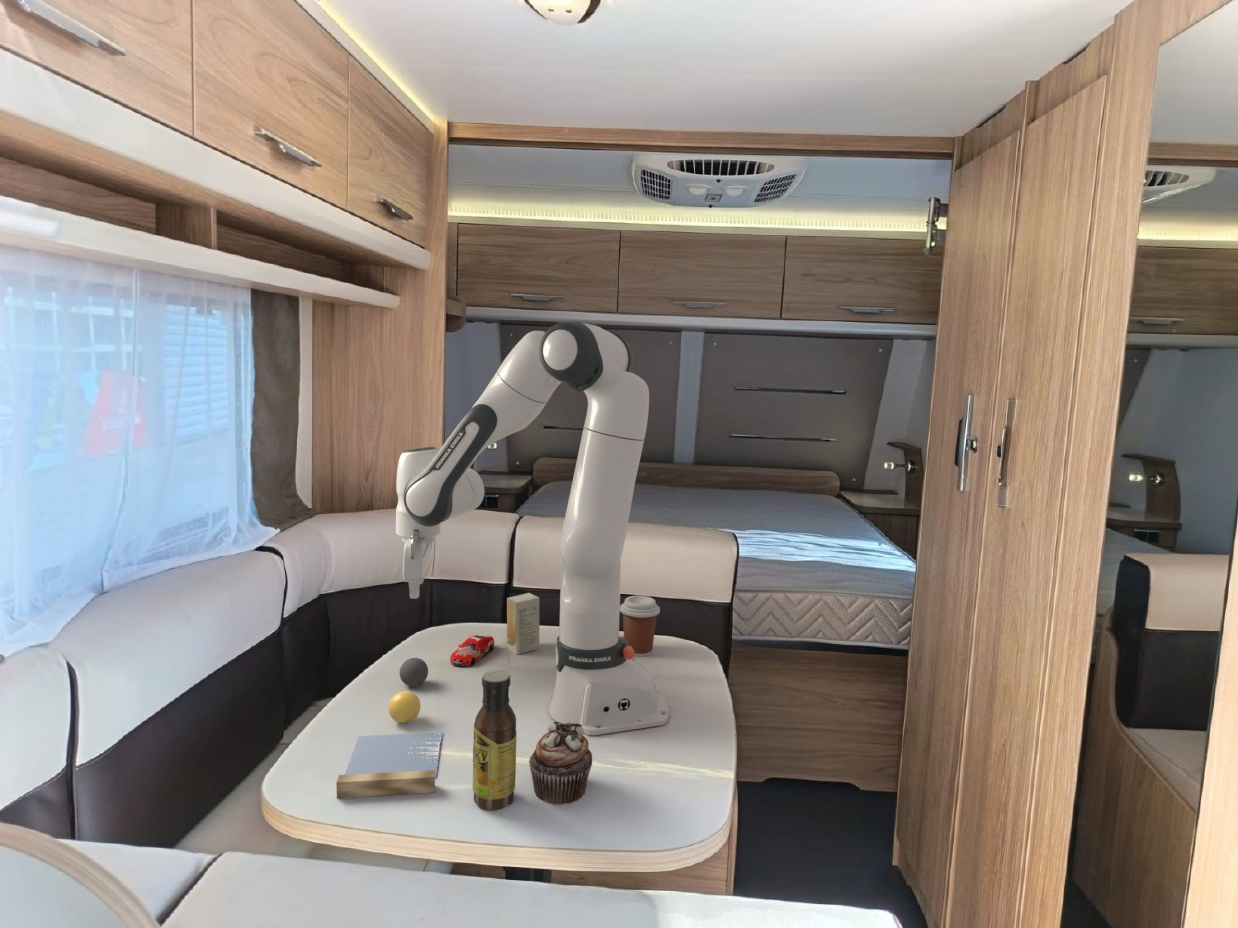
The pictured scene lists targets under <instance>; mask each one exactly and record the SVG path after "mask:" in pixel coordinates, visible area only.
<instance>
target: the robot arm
mask: <svg viewBox="0 0 1238 928" xmlns="http://www.w3.org/2000/svg"><path fill="white" fill-rule="evenodd" d="M634 360H635V357H634V354H633V351H632V348H631V346H630V345H629V344H628V342H627V341H626V340H625V339H624V338H623V337H621V336H620V335H619V334H617V333H615V332H611V331H608V330H606V329H604V328H603V327H601V326H597V325H594V324H590V323H583V322H580V321H576V320H575V321H574V320H570V321H569V320H568V321H561V322H558V323H556V324H553V325H551V326H550V327H549V328H548V329H547V330H546V331H543V330H532V331H529V332H528V333H526V334H525V335H524V336H523V337H522V338H521V339H520V340H519V341H518V342H517V343H516V345H514V347H513V348H512V349H511V350H510V352H509V353H508V354H507V355H506V357H505V358H504V359H503V361H502V362H501V364H500V366H499V368H498V369H497V371H496V372H495V374H494V375H493V377H492V378H491V379H490V382H489V383H488V385H487V386H486V387H485V389H484V391H483V392H482V394H481V395H480V397H479V398H478V399H477V400H476V402H475V403H474V404H473V406H472V407H471V408H470V409H469V411H468V412H467V413H466V414H465V416H464V417H463V418H462V419H461V420H460V422H459V423H458V424H457V426H456V427H455V428H454V430H453V431H452V432H451V433H450V435H449V436H448V438H447V439H446V440H445V442H444V443H443V444H442V446H441V447H440V448H438V447H436V446H423V447H417V448H410V449H406V450H405V451H403V452H402V453H401V454H400V456H399V459H398V464H397V471H396V486H395V487H396V490H395V491H396V493H397V499H398V500H397V506H396V508H395V534H396V535H397V536H399V537H401V542H402V543H404V549H403V562H402V563H403V564H402V579H403V582H405V583H408V589H409V598H410V599H416V600H417V599H418V598H420V585H423V583H424V582H425V572H426V568H427V566H428V563H429V559H430V557H431V554H432V553H431V552H432V546H433V542H434V540H435V539H434V538H435V537H437V536H438V535H440V534H441V523H444V522H445V521H447V520H450V519H453V518H456V517H460V516H462V515H464V514H468V513H470V512H472V511H474V510H476V509H478V508H479V507H480V506H481V505H482V503H483V501H484V499H485V493H486V488H485V483H484V480H483V478H482V476H481V475H480V473H478V472H477V471H476V470H475V469H474V468H471V467H472V465H473V464H474V462H475V461H476V460H477V459H478V457H479V455H480V454H481V453H482V452H483V451H484V450H486V449H488V447H489V446H491V445H492V444H494V443H496V442H498V441H499V440H501V439H503V438H506V437H507V436H508V437H509V436H510V435H512V434H515V433H518V432H519V431H522V430H524V429H526V428H527V427H528V426H529V425H530V424H532V422H533V421H534V420H535V419H536V418H537V417H538V416H539V415H540V413H541V412H542V411H543V409H544V407H545V406H546V405H547V403H548V402H549V400H550V398H551V397H552V395H553V394H554V392H555V390H556V389H557V388H558V386H559V385H560V384H564V385H566V387H568V388H569V389H571V390H573V391H574V392H577V393H579V392H584V394H585V396H586V398H587V399H586V400H587V410H586V415H585V420H584V425H583V429H582V434H581V439H580V445H579V448H578V452H577V453H578V454H577V459H576V462H575V467H574V472H573V473H574V474H573V478H572V482H571V488H570V492H569V496H568V500H567V501H568V502H567V507H566V511H565V516H564V521H563V526H562V529H561V530H562V531H561V533H560V534H561V536H560V541H559V550H560V555H561V558H562V559H561V577H560V594H559V596H560V597H559V603H560V604H559V627H558V628H559V629H558V631H559V633H558V634H559V635H558V636H557V638H556V645H555V666H556V677H555V682H554V683H555V684H554V687H553V688H554V689H553V693H552V696H551V700H550V702H549V703H550V704H549V706H548V714H549V715H550V717H551V718H552V719H553V720H554V721H557V722H560V723H561V724H566V723H576V724H580V725H582V728H583V729H584V733H583V734H586V735H588V736H598V735H605V734H611V733H612V734H613V733H619V732H625V731H631V730H637V729H644V728H652V727H660V726H663V725H666V724H667V723H668V721H669V719H670V709H669V708H670V707H669V706H668V702H667V701H666V699H665V698H664V697H663V695H662V694H661V693H660V692H659V691H658V690H657V686H656V683H655V679H654V677H653V676H652V675H651V673H650V672H649V670H647V669H646V668H645V667H644V666H643V665H641V664H640V663H638V662H637V661H636V660H634V658H635V657H636V656H634V655H635V652H634V650H633V648H632V647H631V646H629V643H628V641H626V640H625V638H624V635H621V636H620V613H621V612H620V605H621V560H622V559H621V558H622V555H623V552H624V546H625V541H626V536H627V532H628V531H627V530H628V525H629V520H630V513H631V509H632V502H633V496H634V490H635V485H636V484H635V483H636V479H637V474H638V471H639V465H640V461H641V456H642V453H643V452H642V451H643V446H644V443H645V438H646V432H647V427H648V419H649V411H650V410H649V408H650V389H649V386H648V384H647V383H646V381H645V380H644V379H643V378H641V377H640V376H639V375H637V374H635V373H633V372H632V371H633V368H634Z"/></svg>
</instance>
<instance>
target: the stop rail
mask: <svg viewBox="0 0 1238 928" xmlns="http://www.w3.org/2000/svg"><path fill="white" fill-rule="evenodd" d="M435 786H436V778H435V770H425V771H405V772H386V773H367V774H348V775H345V774H339V775H338V776H337V779H336V798H337V799H343V798H345V799H346V798H347V799H348V798H361V797H362V798H363V797H364V798H365V797H376V796H377V797H379V796H398V795H414V794H432V793H433V794H434V792H435Z"/></svg>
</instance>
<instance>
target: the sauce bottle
mask: <svg viewBox="0 0 1238 928" xmlns="http://www.w3.org/2000/svg"><path fill="white" fill-rule="evenodd" d="M481 678H482V679H481V686H482V689H483V690H482V701H481V702H482V706H481V708H480V709H479V711H478V713H477V714H476V717H475V719H474V723H473V747H472V790H473V801H474V803H475V804H476V805H477V806H478V807H479V808H481V809H482V810H488V811H500V810H503V809H505V808H507V807H509V806H510V805H512V803H513V801H514V799H515V798H514V797H515V789H516V774H517V773H516V769H517V768H516V767H517V766H516V765H517V718H516V717H517V716H516V714H515V711H514V710H513V708H512V706H511V705H510V697H509V692H510V689H509V688H510V687H511V683H512V682H511V675H510V673H509V672H507V671H505V670H501V669H494V670H493V669H492V670H488V671H486V672H484V673H483V675H482V677H481Z"/></svg>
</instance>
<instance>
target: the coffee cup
mask: <svg viewBox="0 0 1238 928" xmlns="http://www.w3.org/2000/svg"><path fill="white" fill-rule="evenodd" d="M660 611H661V608H660V606H659V605H658V604H656V599H655V598H652V597H650V596H647V595H632V596H627V597H626V598H624V602H623V603H621V604H620V613H622V624H623V626H622V627H623V637H624V638H625V640H626V641H628V643H629V646H631V647H632V648H633V650H634V652H635V655H634V656H635V657H636V658H637V657H638V658H640V657H647V656H650V655H652V654H653V648H654V647H653V646H654V640H655V632H656V625H657V623H656V622H657V618H658V617H657V616H658V615H659V614H660V613H661V612H660Z"/></svg>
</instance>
